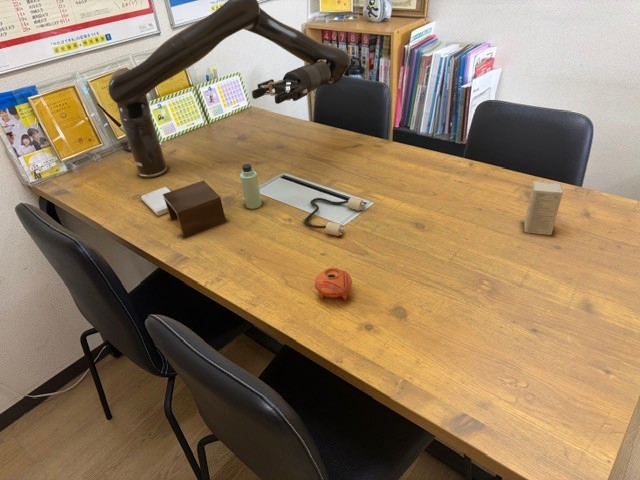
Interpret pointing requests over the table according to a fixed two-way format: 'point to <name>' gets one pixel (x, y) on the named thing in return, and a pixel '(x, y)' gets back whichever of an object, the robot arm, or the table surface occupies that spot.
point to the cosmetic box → (543, 207)
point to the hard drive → (156, 200)
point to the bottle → (250, 187)
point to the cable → (332, 227)
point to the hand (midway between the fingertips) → (264, 97)
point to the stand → (195, 207)
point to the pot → (333, 283)
